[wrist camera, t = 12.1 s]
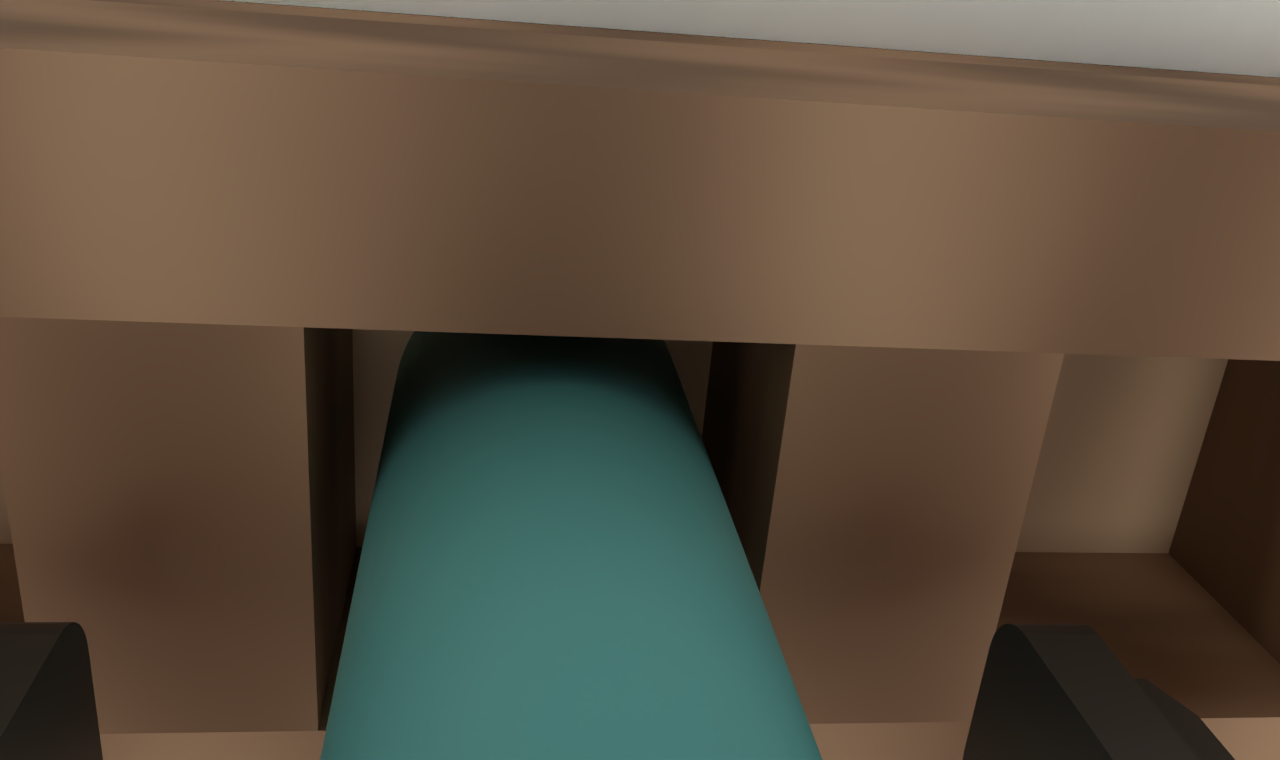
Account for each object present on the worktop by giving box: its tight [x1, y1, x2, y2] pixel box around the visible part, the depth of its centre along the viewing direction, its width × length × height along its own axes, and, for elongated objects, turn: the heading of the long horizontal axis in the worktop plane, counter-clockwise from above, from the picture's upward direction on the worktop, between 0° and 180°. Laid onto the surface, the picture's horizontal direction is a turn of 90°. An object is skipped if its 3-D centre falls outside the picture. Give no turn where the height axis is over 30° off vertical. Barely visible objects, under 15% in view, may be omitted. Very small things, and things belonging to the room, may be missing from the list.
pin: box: [320, 331, 822, 760], centre depth 10 cm, size 4×4×14 cm
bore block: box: [0, 0, 1280, 760], centre depth 15 cm, size 26×10×5 cm, turn 85°
